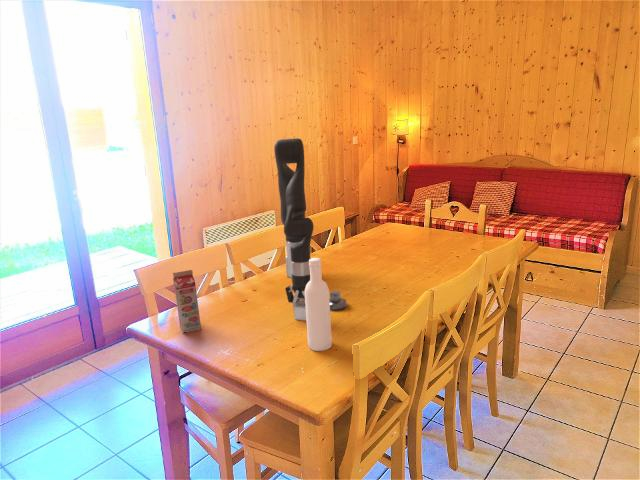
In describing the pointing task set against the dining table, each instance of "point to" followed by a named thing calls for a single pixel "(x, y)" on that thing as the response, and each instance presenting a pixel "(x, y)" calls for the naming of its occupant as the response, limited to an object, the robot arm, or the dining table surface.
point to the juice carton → (186, 301)
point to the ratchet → (336, 301)
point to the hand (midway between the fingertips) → (304, 313)
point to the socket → (300, 310)
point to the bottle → (317, 309)
